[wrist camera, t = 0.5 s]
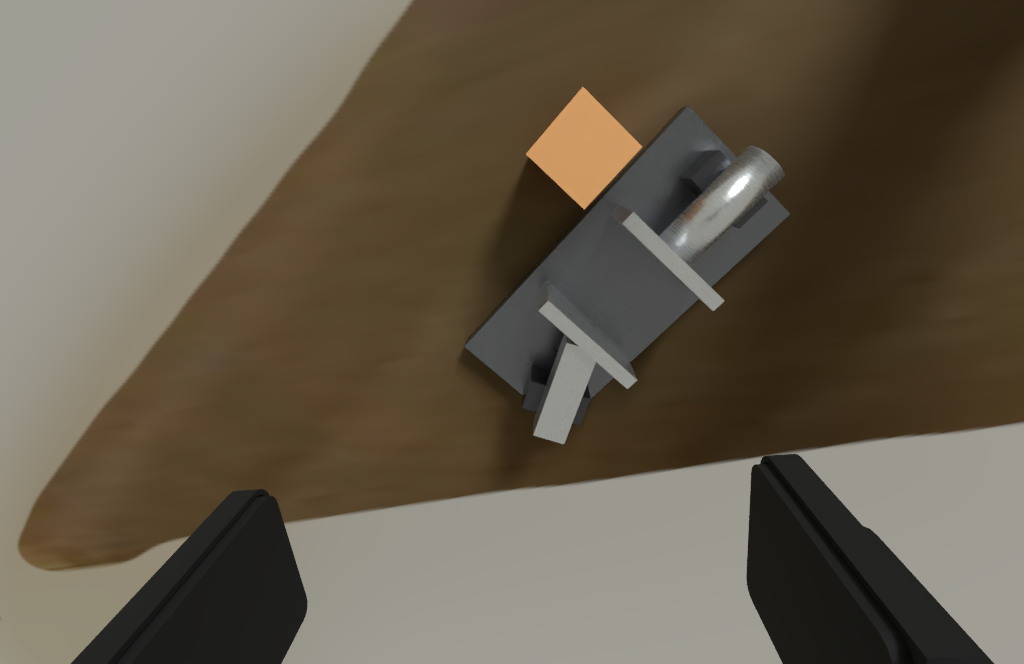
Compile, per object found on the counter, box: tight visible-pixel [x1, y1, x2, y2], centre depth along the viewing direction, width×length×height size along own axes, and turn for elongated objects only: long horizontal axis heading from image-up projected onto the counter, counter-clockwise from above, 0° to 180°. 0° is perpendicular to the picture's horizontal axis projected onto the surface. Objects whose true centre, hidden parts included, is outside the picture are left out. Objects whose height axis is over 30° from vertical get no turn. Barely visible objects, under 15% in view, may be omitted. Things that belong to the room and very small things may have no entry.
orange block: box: [526, 87, 642, 210], centre depth 28 cm, size 4×4×7 cm
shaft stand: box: [464, 106, 790, 444], centre depth 30 cm, size 20×9×6 cm, turn 138°
